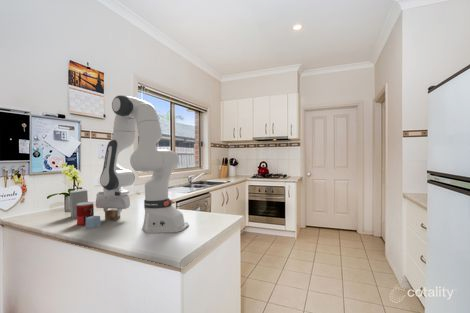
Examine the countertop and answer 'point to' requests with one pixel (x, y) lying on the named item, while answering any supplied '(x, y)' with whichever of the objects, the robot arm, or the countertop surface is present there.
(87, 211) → the canned food
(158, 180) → the robot arm
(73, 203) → the skincare box
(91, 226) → the slate block
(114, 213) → the walnut block
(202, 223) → the countertop surface
